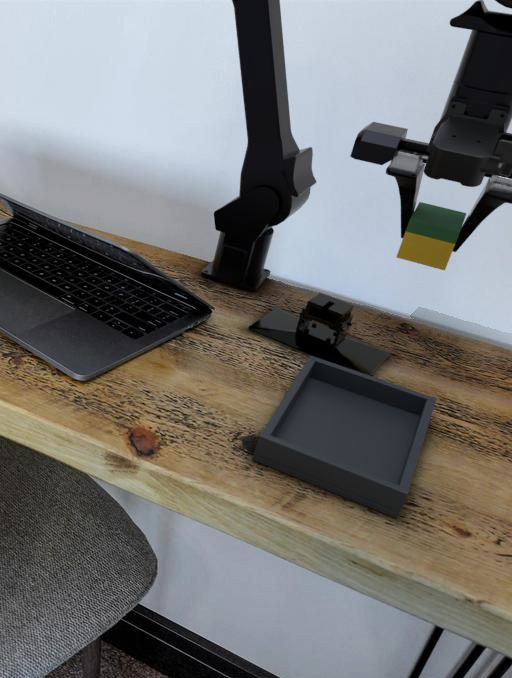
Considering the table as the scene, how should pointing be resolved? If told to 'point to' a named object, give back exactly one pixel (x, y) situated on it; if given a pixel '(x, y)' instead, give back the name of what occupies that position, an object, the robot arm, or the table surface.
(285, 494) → the table surface
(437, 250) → the sponge
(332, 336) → the black mechanical part
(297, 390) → the tray
